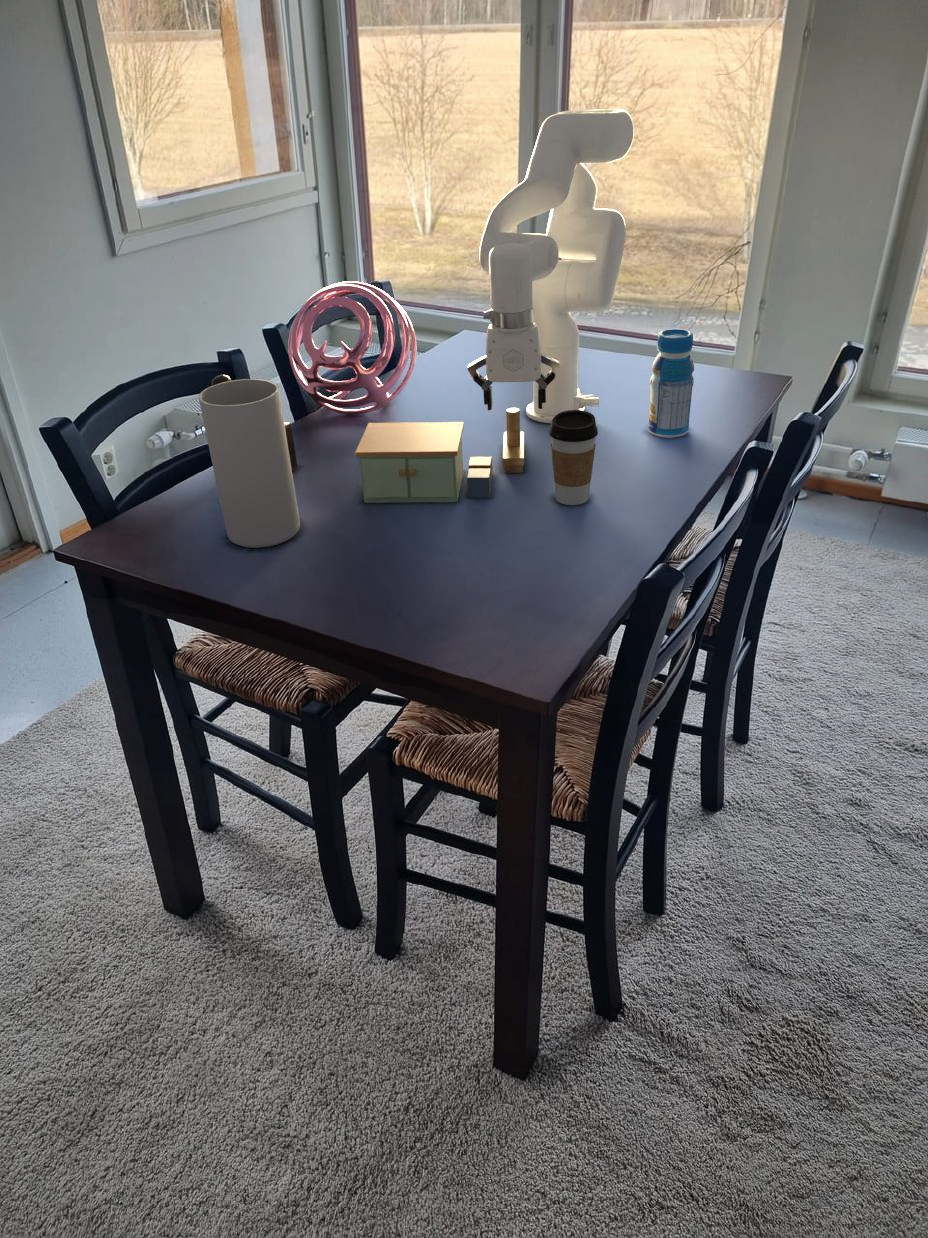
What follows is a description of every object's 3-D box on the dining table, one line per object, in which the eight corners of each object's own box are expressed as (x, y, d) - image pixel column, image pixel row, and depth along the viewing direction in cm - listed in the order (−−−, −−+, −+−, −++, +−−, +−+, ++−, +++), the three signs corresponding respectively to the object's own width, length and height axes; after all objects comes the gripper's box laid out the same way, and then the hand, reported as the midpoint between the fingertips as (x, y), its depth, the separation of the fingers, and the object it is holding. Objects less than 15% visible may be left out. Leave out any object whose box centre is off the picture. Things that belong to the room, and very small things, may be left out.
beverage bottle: (671, 442, 186) (679, 342, 175) (638, 431, 191) (644, 333, 181) (697, 430, 190) (707, 332, 180) (664, 420, 196) (671, 324, 185)
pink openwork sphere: (335, 292, 220) (296, 245, 194) (445, 327, 216) (419, 283, 189) (296, 405, 222) (251, 373, 195) (404, 442, 217) (373, 414, 190)
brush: (524, 445, 188) (523, 397, 183) (524, 472, 177) (523, 422, 172) (504, 445, 188) (503, 398, 183) (503, 473, 177) (501, 423, 172)
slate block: (470, 488, 172) (491, 488, 172) (467, 497, 169) (489, 497, 169) (469, 468, 170) (491, 468, 170) (466, 477, 167) (489, 477, 166)
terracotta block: (471, 476, 177) (492, 476, 176) (469, 485, 173) (490, 485, 173) (470, 456, 175) (491, 456, 174) (468, 465, 171) (490, 465, 171)
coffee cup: (600, 490, 169) (603, 411, 161) (589, 510, 162) (592, 429, 154) (555, 485, 172) (555, 407, 163) (543, 505, 165) (543, 424, 157)
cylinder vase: (267, 556, 154) (240, 410, 140) (212, 539, 160) (181, 398, 146) (315, 525, 163) (294, 385, 149) (262, 510, 168) (237, 374, 155)
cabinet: (466, 471, 179) (463, 421, 173) (459, 505, 166) (456, 453, 161) (373, 471, 181) (368, 422, 175) (360, 505, 168) (354, 454, 163)
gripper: (463, 325, 166) (468, 416, 176) (560, 322, 164) (560, 413, 174) (466, 312, 172) (471, 400, 182) (560, 309, 171) (560, 398, 180)
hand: (515, 406), depth 178 cm, fingers open, 9 cm apart
